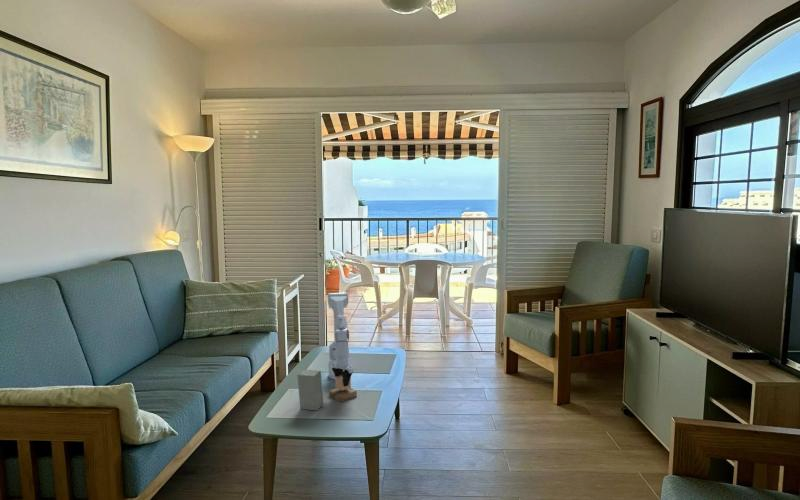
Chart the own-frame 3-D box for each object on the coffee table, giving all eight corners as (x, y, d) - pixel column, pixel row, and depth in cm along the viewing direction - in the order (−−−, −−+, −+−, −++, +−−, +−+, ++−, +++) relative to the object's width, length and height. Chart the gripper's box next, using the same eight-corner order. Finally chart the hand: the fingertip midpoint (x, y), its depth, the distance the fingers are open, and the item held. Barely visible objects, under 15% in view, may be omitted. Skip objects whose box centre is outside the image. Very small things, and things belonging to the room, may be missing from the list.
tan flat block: (329, 396, 210) (329, 390, 210) (345, 391, 216) (345, 385, 216) (340, 402, 204) (340, 396, 203) (356, 397, 210) (356, 390, 209)
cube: (335, 387, 210) (335, 376, 210) (344, 384, 213) (344, 374, 213) (341, 390, 206) (341, 379, 206) (350, 387, 210) (350, 377, 209)
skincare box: (323, 405, 200) (322, 370, 199) (315, 412, 194) (314, 375, 192) (306, 402, 203) (305, 367, 202) (298, 409, 196) (296, 373, 195)
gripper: (325, 353, 211) (326, 381, 212) (343, 361, 200) (344, 391, 201) (338, 350, 216) (339, 378, 217) (357, 357, 205) (357, 386, 206)
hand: (342, 384), depth 209 cm, fingers closed on cube, 5 cm apart
